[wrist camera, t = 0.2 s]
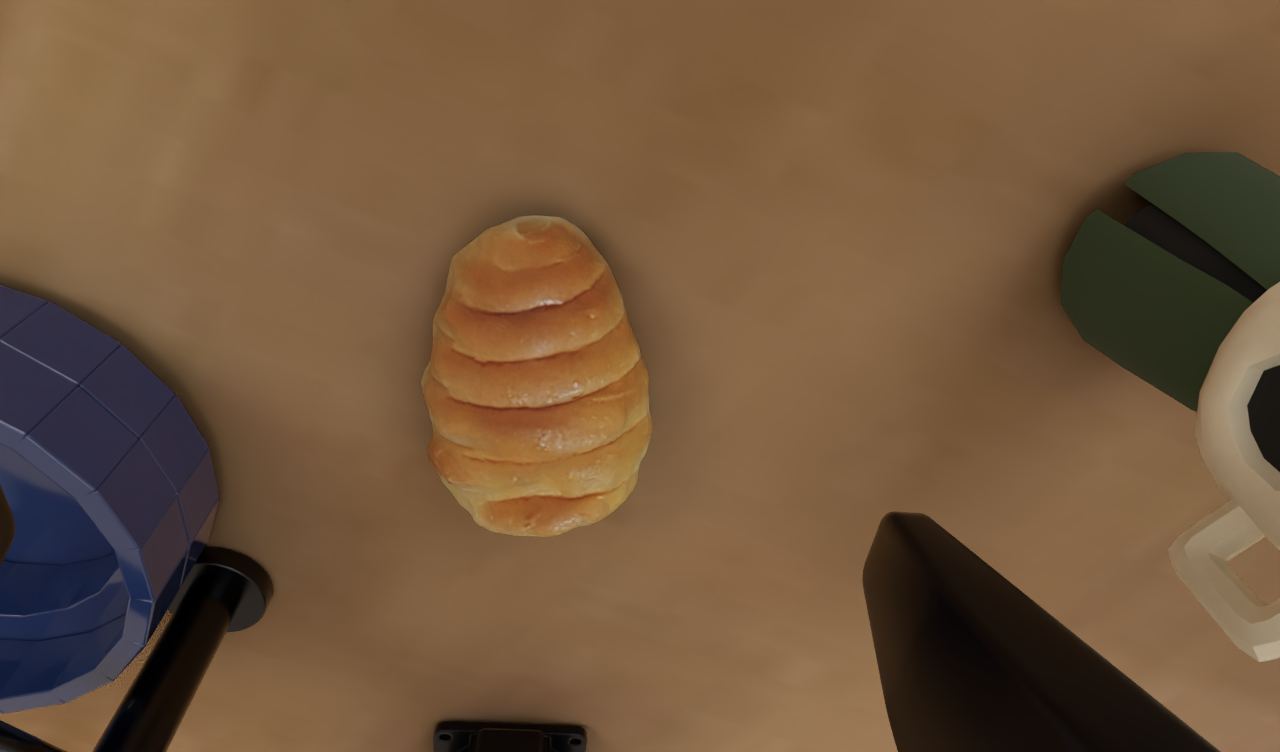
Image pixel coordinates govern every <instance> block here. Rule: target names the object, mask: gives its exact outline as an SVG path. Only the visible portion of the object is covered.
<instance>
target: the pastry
mask: <svg viewBox="0 0 1280 752" xmlns="http://www.w3.org/2000/svg"><path fill="white" fill-rule="evenodd" d="M648 383H649V378H648V373H647V369H646V366H645V364H644V361H643V359H642V356H641V354H640V349H639V346H638V343H637V341H636V339H635V337H634V334H633V332H632V329H631V327H630V324H629V320H628V316H627V312H626V310H625V308H624V304H623V298H622V296H621V294H620V291H619V289H618V286H617V284H616V281H615V279H614V276H613V273H612V271H611V269H610V267H609V265H608V264H607V262H606V261H605V259H604V258H603V257H602V256H601V254H600V253H599V252H598V251H597V249H596V248H595V247H594V245H593V244H592V243H591V241H590V240H589V239H588V237H587V236H586V235H585V234H584V233H583V232H582V231H581V230H580V229H579V228H578V227H577V226H575V225H573V224H572V223H570V222H569V221H567V220H565V219H563V218H560V217H552V216H537V215H535V216H523V217H517V218H515V219H512V220H510V221H507V222H505V223H503V224H500V225H497V226H494V227H491V228H488V229H487V230H485V231H484V232H483V233H481V234H480V235H479V236H478V237H476V238H475V239H474V240H473V241H472V242H470V243H469V244H468V245H467V246H465V247H464V248H463V249H461V250H460V251H459V252H458V253H457V254H456V255H454V256H453V258H452V261H451V265H450V270H449V274H448V278H447V283H446V292H445V295H444V297H443V299H442V301H441V304H440V307H439V308H438V310H437V312H436V314H435V317H434V320H433V346H432V351H431V360H430V362H429V364H428V366H427V367H426V369H425V371H424V374H423V378H422V381H421V386H422V389H423V396H424V398H425V401H426V405H427V407H428V409H429V414H430V419H431V421H432V426H433V438H432V440H431V442H430V443H429V446H428V457H429V460H430V462H431V464H432V465H433V467H434V468H435V470H436V471H437V472H438V474H439V475H440V477H441V480H442V482H443V483H444V485H445V486H446V487H447V488H448V489H449V490H450V491H451V492H452V494H453V496H454V497H455V498H456V499H457V501H458V502H459V503H460V505H461V506H462V507H464V508H465V509H466V510H468V511H469V512H470V514H471V515H472V517H473V519H474V520H475V522H476V523H477V524H478V525H481V526H483V527H485V528H486V529H488V530H490V531H494V532H497V533H503V534H510V535H514V536H556V535H559V534H562V533H565V532H567V531H568V530H570V529H573V528H575V527H578V526H587V525H591V524H593V523H596V522H598V521H599V520H601V519H603V518H604V517H606V516H607V515H609V514H610V513H612V512H613V511H614V510H615V509H616V508H617V507H618V506H619V505H621V504H622V503H623V502H624V501H625V500H626V498H627V497H628V496H629V495H630V494H631V493H632V491H633V489H634V487H635V485H636V484H637V482H638V469H639V465H640V462H641V460H642V458H643V457H644V456H645V453H646V451H647V449H648V444H649V440H650V438H651V435H652V426H653V424H652V419H651V415H650V411H649V396H648Z"/></svg>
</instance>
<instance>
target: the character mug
mask: <svg viewBox="0 0 1280 752" xmlns="http://www.w3.org/2000/svg"><path fill="white" fill-rule="evenodd" d="M1125 185H1126V186H1128V187H1129V188H1130V189H1132V190H1133V191H1135V192H1136V193H1138V194H1139V195H1141V196H1142V197H1144V198H1145V199H1147V200H1148V201H1149V202H1151V203H1152V204H1151V205H1149V206H1147V207H1145V208H1144V209H1142V210H1140V211H1138V212H1137V213H1135V214H1134V215H1133V216H1132V217H1131V219H1130V220H1129V221H1128V223H1127V224H1126V225H1125V226H1124V225H1122V224H1121V223H1119V222H1117V221H1116V220H1114V219H1112V218H1111V217H1109V216H1107V215H1106V214H1104V213H1102V212H1101V211H1099V210H1097V209H1096V210H1095V211H1094V212H1092V213H1091V214H1090V215H1089V216H1088V217H1086V218H1085V220H1084V222H1083V224H1082V226H1081V228H1080V230H1079V232H1078V234H1077V236H1076V238H1075V239H1074V241H1073V243H1072V245H1071V247H1070V249H1069V251H1068V253H1067V255H1066V257H1065V259H1064V261H1063V275H1062V295H1061V305H1062V306H1063V308H1064V310H1065V311H1066V313H1067V314H1068V316H1069V318H1070V319H1071V321H1072V322H1073V324H1074V325H1075V327H1076V329H1077V330H1078V332H1079V333H1080V335H1081V337H1082V338H1083V340H1085V341H1086V342H1087V343H1089V344H1090V345H1092V346H1093V347H1095V348H1096V349H1097V350H1099V351H1100V352H1102V353H1103V354H1105V355H1106V356H1107V357H1109V358H1110V359H1112V360H1113V361H1114V362H1116V363H1117V364H1119V365H1120V366H1122V367H1123V368H1125V369H1127V370H1128V371H1130V372H1132V373H1133V374H1135V375H1136V376H1138V377H1140V378H1141V379H1143V380H1145V381H1146V382H1148V383H1149V384H1151V385H1153V386H1154V387H1156V388H1158V389H1159V390H1161V391H1162V392H1164V393H1166V394H1167V395H1169V396H1170V397H1172V398H1174V399H1175V400H1177V401H1178V402H1180V403H1182V404H1183V405H1185V406H1186V407H1188V408H1190V409H1191V410H1194V411H1196V412H1197V418H1196V426H1195V438H1196V441H1197V444H1198V447H1199V450H1200V453H1201V457H1202V459H1203V461H1204V463H1205V465H1206V466H1207V468H1208V470H1209V472H1210V474H1211V476H1212V478H1213V480H1214V481H1215V483H1216V485H1217V487H1218V489H1219V491H1220V493H1221V494H1222V495H1223V496H1224V497H1225V498H1226V499H1227V500H1228V502H1227V503H1225V504H1224V505H1222V506H1221V507H1220V508H1218V509H1217V510H1215V511H1214V512H1212V513H1211V514H1209V515H1208V516H1206V517H1205V518H1203V519H1202V520H1200V521H1199V522H1197V523H1196V524H1194V525H1193V526H1191V527H1190V528H1188V529H1187V530H1185V531H1184V532H1182V533H1181V534H1180V535H1179V536H1178V537H1177V538H1176V540H1175V541H1174V542H1173V543H1172V545H1171V546H1170V547H1169V548H1168V555H1169V558H1170V561H1171V564H1172V567H1173V569H1174V572H1175V574H1176V575H1177V576H1178V577H1179V579H1180V580H1181V581H1182V582H1183V583H1184V585H1185V586H1186V587H1187V588H1188V589H1189V591H1190V592H1191V593H1192V594H1193V595H1194V597H1195V598H1196V599H1197V600H1198V601H1199V603H1200V604H1201V605H1202V606H1203V607H1204V609H1205V610H1206V611H1207V612H1208V613H1209V614H1210V616H1211V617H1212V618H1213V619H1214V620H1215V622H1216V623H1217V624H1218V625H1219V626H1220V628H1221V629H1222V630H1223V631H1224V632H1225V634H1226V635H1227V636H1228V637H1229V638H1230V640H1231V641H1232V642H1233V643H1234V644H1235V645H1236V647H1237V648H1239V649H1240V650H1242V651H1243V652H1245V653H1247V654H1248V655H1250V656H1251V657H1253V658H1254V659H1256V660H1257V661H1259V662H1263V661H1268V660H1273V659H1278V658H1280V598H1279V599H1277V600H1276V601H1274V602H1272V603H1271V604H1269V605H1266V604H1264V603H1263V602H1262V601H1261V600H1260V599H1259V598H1258V596H1257V595H1256V594H1255V593H1254V592H1253V591H1252V590H1251V589H1250V588H1249V587H1248V586H1247V585H1246V583H1245V582H1244V581H1243V580H1242V579H1241V578H1240V577H1239V576H1238V575H1237V574H1236V573H1235V572H1234V571H1233V570H1232V568H1231V567H1230V566H1229V565H1228V564H1227V562H1228V561H1229V560H1230V559H1231V558H1233V557H1235V556H1236V555H1238V554H1239V553H1241V552H1242V551H1244V550H1246V549H1247V548H1249V547H1250V546H1252V545H1253V544H1255V543H1256V542H1258V541H1260V540H1261V539H1263V538H1264V537H1266V538H1267V539H1268V540H1269V541H1270V542H1271V543H1272V544H1273V545H1274V546H1275V547H1276V548H1277V549H1278V550H1279V551H1280V176H1278V175H1276V174H1274V173H1273V172H1271V171H1269V170H1267V169H1266V168H1264V167H1262V166H1260V165H1259V164H1257V163H1255V162H1253V161H1251V160H1250V159H1248V158H1246V157H1244V156H1243V155H1241V154H1239V153H1237V152H1227V153H1184V154H1182V155H1179V156H1177V157H1174V158H1172V159H1170V160H1167V161H1165V162H1162V163H1160V164H1157V165H1155V166H1153V167H1150V168H1148V169H1145V170H1143V171H1140V172H1138V173H1136V174H1134V175H1133V176H1132V177H1131V178H1130V179H1129V180H1128V181H1127V182H1126V183H1125Z"/></svg>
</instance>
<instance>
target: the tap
mask: <svg viewBox="0 0 1280 752" xmlns="http://www.w3.org/2000/svg"><path fill="white" fill-rule="evenodd" d="M272 593H273V588H272V582H271V580H270V577H269V576H268V574H267V572H266V571H265V570H264V569H263V568H262V567H261V566H260V565H259V564H258V563H257V562H255V561H254V560H252V559H251V558H249V557H247V556H245V555H243V554H241V553H238V552H236V551H232V550H229V549H224V548H217V547H204V549H203V550H202V552H201V554H200V556H199V557H198V559H197V561H196V562H195V564H194V566H193V567H192V569H191V571H190V572H189V574H188V576H187V577H186V579H185V581H184V582H183V584H182V586H181V587H180V589H179V590H178V592H177V594H176V596H175V597H174V599H173V601H172V602H171V604H170V606H169V607H168V610H169V611H170V612H171V613H172V614H173V615H172V616H171V618H170V620H169V622H168V623H167V625H166V627H165V628H164V630H163V632H162V634H161V635H160V637H159V639H158V640H157V642H156V644H155V646H154V647H153V649H152V651H151V652H150V654H149V656H148V657H147V659H146V661H145V663H144V664H143V666H142V668H141V669H140V671H139V673H138V675H137V676H136V678H135V680H134V681H133V683H132V685H131V687H130V688H129V690H128V692H127V693H126V695H125V697H124V699H123V700H122V702H121V704H120V705H119V707H118V709H117V710H116V712H115V714H114V716H113V717H112V719H111V721H110V722H109V724H108V726H107V728H106V729H105V731H104V733H103V734H102V736H101V738H100V740H99V741H98V743H97V745H96V746H95V748H94V750H93V752H166V751H167V749H168V747H169V745H170V743H171V741H172V739H173V737H174V735H175V733H176V731H177V729H178V727H179V725H180V723H181V721H182V719H183V717H184V715H185V713H186V711H187V709H188V707H189V705H190V703H191V701H192V699H193V697H194V695H195V693H196V691H197V689H198V687H199V685H200V683H201V681H202V679H203V677H204V675H205V673H206V671H207V669H208V667H209V665H210V663H211V661H212V659H213V657H214V655H215V653H216V651H217V649H218V647H219V645H220V643H221V641H222V639H223V637H224V635H225V633H226V632H234V631H240V630H243V629H246V628H248V627H251V626H252V625H254V624H255V623H257V622H258V621H259V620H260V619H261V618H262V616H263V615H264V613H265V611H266V608H267V606H268V604H269V602H270V600H271V597H272ZM0 752H67V751H65V750H62V749H60V748H58V747H56V746H54V745H52V744H50V743H47V742H45V741H43V740H41V739H39V738H37V737H35V736H33V735H30V734H28V733H26V732H24V731H22V730H20V729H18V728H15V727H13V726H11V725H9V724H7V723H5V722H3V721H1V720H0Z"/></svg>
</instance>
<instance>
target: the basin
mask: <svg viewBox="0 0 1280 752" xmlns="http://www.w3.org/2000/svg"><path fill="white" fill-rule="evenodd" d="M208 447H209V446H208V444H207V442H206V441H205V439H204V438H203V436H202V434H201V433H200V431H199V429H198V428H197V426H196V425H195V423H194V421H193V420H192V418H191V416H190V415H189V413H188V412H187V410H186V408H185V407H184V405H183V403H182V402H181V400H180V399H179V397H178V396H177V395H175V393H174V392H173V391H172V390H171V389H170V388H169V387H168V386H167V385H166V384H165V383H164V382H163V381H162V380H161V379H160V378H159V377H157V376H156V375H155V374H154V373H153V372H152V371H151V370H150V369H149V368H148V367H147V366H146V365H145V364H144V363H142V362H141V361H140V360H139V359H138V358H137V357H136V356H135V355H134V354H133V353H132V352H131V351H130V350H129V349H127V348H126V347H125V346H124V345H121V342H119V341H118V340H116V339H114V338H113V337H111V336H109V335H107V334H106V333H104V332H102V331H101V330H99V329H97V328H95V327H94V326H92V325H90V324H89V323H87V322H85V321H83V320H82V319H80V318H78V317H77V316H75V315H73V314H72V313H70V312H68V311H66V310H65V309H63V308H61V307H60V306H58V305H56V304H54V303H53V302H48V301H47V300H45V299H42V298H39V297H36V296H33V295H30V294H27V293H24V292H21V291H18V290H15V289H12V288H9V287H6V286H3V285H0V484H1V487H2V489H3V491H4V494H5V496H6V499H7V501H8V504H9V506H10V509H11V511H12V514H13V516H14V520H15V535H14V539H13V542H12V544H11V547H10V549H9V551H8V553H7V554H6V556H5V558H4V560H3V562H2V564H1V566H0V714H3V713H11V712H17V711H23V710H29V709H35V708H41V707H47V706H53V705H59V704H64V703H68V702H70V701H72V700H74V699H76V698H78V697H81V696H83V695H85V694H87V693H89V692H91V691H93V690H95V689H98V688H100V687H102V686H104V685H106V684H108V683H110V682H112V681H114V680H115V679H116V678H117V677H118V676H119V675H120V674H121V673H122V672H123V671H124V670H125V668H126V667H127V666H128V665H129V664H130V663H131V662H132V661H133V660H134V658H135V657H136V656H137V655H138V654H139V653H140V652H141V651H142V649H143V648H144V647H145V646H146V644H147V643H148V641H149V639H150V638H151V636H152V634H153V633H154V631H155V629H156V628H157V626H158V624H159V623H160V621H161V619H162V618H163V616H164V614H165V612H166V611H167V609H168V607H169V606H170V604H171V602H172V601H173V599H174V597H175V596H176V594H177V592H178V590H179V589H180V587H181V586H182V584H183V582H184V581H185V579H186V577H187V576H188V574H189V572H190V571H191V569H192V567H193V566H194V564H195V562H196V561H197V559H198V557H199V556H200V554H201V552H202V550H203V549H204V547H205V545H206V544H207V542H208V540H209V538H210V534H211V530H212V526H213V522H214V518H215V514H216V510H217V506H218V502H219V492H218V487H217V483H216V478H215V473H214V468H213V463H212V458H211V453H210V449H209V448H208Z"/></svg>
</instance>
